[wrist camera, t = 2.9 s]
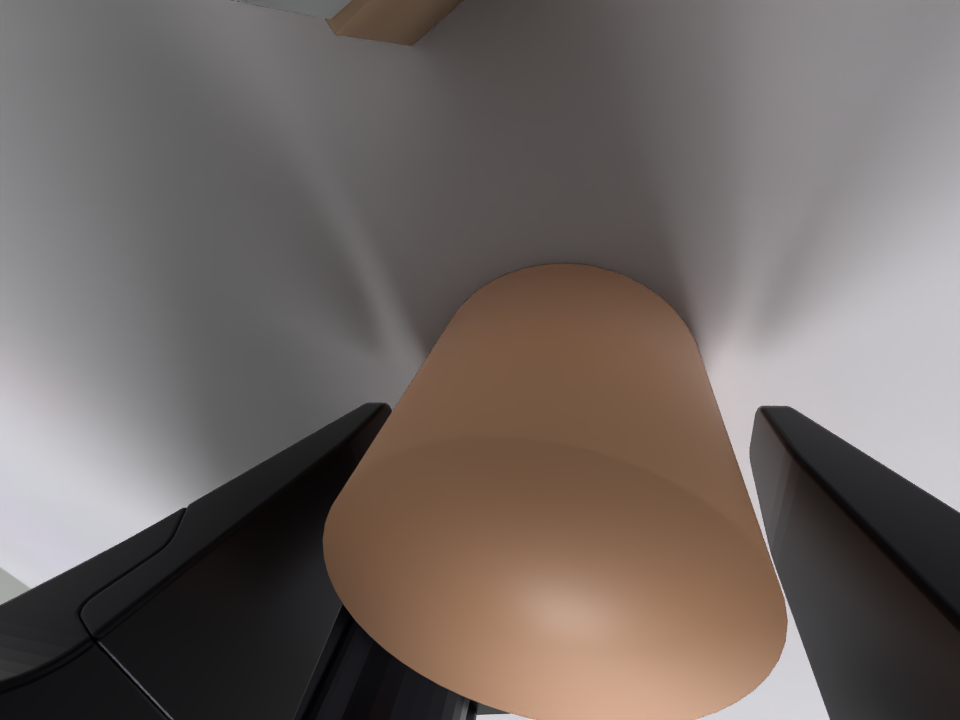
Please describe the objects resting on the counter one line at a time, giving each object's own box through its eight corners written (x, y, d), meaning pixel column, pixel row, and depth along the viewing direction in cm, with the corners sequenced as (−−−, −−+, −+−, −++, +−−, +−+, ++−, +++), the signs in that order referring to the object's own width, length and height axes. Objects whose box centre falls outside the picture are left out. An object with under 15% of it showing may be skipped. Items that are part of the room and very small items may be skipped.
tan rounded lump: (745, 445, 9) (851, 724, 5) (516, 507, 11) (468, 732, 7) (631, 206, 7) (660, 352, 3) (389, 335, 9) (241, 512, 5)
